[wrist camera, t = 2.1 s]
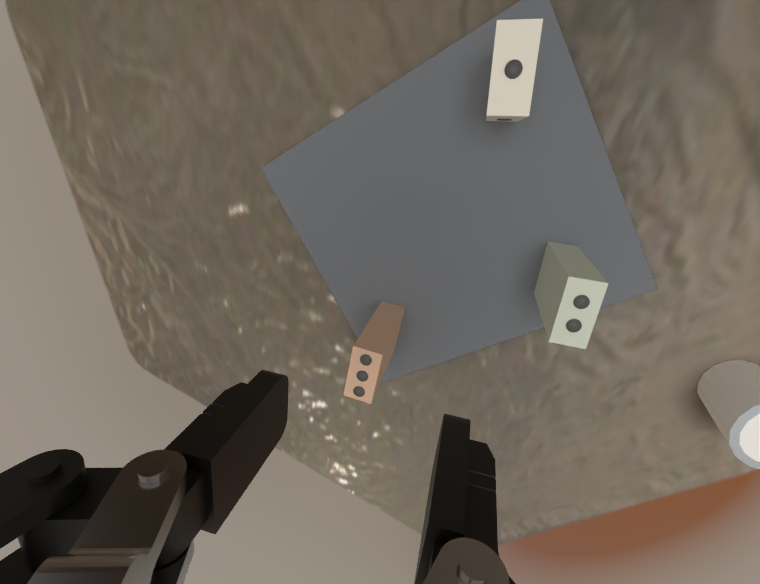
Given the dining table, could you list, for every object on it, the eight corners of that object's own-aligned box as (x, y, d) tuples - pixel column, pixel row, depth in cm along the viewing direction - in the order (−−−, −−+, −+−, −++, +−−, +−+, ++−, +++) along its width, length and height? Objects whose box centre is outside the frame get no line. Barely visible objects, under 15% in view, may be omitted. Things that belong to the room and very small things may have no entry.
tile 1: (485, 122, 34) (486, 117, 25) (493, 52, 32) (496, 19, 23) (517, 122, 34) (529, 118, 24) (526, 52, 32) (543, 18, 23)
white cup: (796, 392, 36) (862, 447, 30) (718, 429, 39) (764, 486, 33) (748, 339, 36) (804, 383, 29) (672, 381, 39) (709, 429, 32)
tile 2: (533, 293, 38) (548, 343, 29) (547, 241, 36) (569, 276, 27) (561, 299, 38) (585, 351, 29) (577, 246, 36) (609, 283, 27)
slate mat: (263, 167, 41) (260, 168, 40) (543, -13, 31) (544, -16, 30) (383, 379, 46) (382, 382, 46) (655, 286, 36) (657, 288, 36)
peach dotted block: (372, 342, 44) (343, 396, 35) (381, 300, 42) (353, 346, 33) (394, 349, 44) (370, 405, 35) (405, 307, 42) (382, 355, 33)
